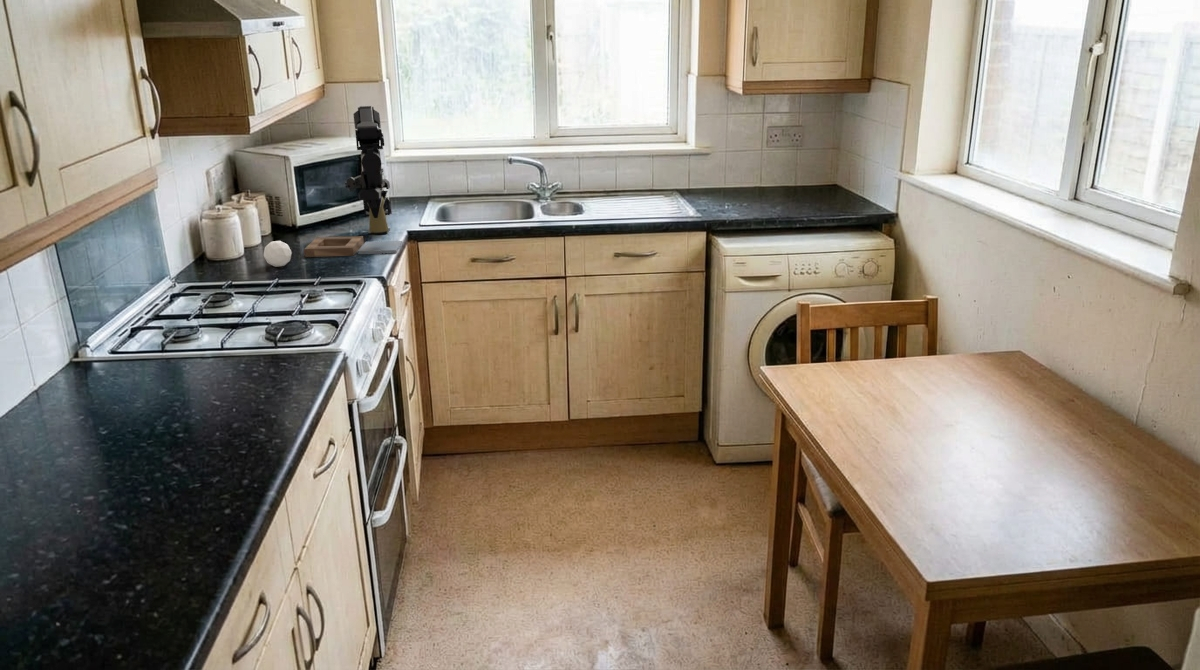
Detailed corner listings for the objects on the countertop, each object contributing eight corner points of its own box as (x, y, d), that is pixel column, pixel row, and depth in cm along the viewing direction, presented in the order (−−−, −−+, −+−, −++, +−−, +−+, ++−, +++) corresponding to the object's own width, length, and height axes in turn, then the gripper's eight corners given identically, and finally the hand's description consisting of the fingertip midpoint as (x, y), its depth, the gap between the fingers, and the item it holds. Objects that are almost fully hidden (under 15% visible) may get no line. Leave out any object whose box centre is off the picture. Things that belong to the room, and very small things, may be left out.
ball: (288, 273, 258) (300, 253, 256) (265, 270, 251) (278, 249, 249) (276, 257, 261) (289, 237, 259) (254, 254, 255) (266, 233, 252)
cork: (377, 233, 267) (373, 198, 264) (365, 230, 271) (361, 196, 267) (392, 229, 272) (389, 195, 268) (380, 227, 275) (376, 193, 271)
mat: (366, 244, 279) (365, 241, 278) (402, 243, 279) (402, 240, 279) (357, 254, 268) (357, 251, 267) (396, 253, 268) (396, 250, 268)
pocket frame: (317, 244, 280) (316, 237, 279) (363, 243, 280) (363, 236, 279) (305, 256, 266) (303, 249, 265) (353, 255, 266) (352, 247, 265)
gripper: (352, 162, 273) (358, 210, 278) (338, 172, 255) (344, 223, 261) (387, 161, 273) (392, 209, 279) (376, 171, 256) (381, 222, 261)
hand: (377, 216), depth 270 cm, fingers closed on cork, 4 cm apart
